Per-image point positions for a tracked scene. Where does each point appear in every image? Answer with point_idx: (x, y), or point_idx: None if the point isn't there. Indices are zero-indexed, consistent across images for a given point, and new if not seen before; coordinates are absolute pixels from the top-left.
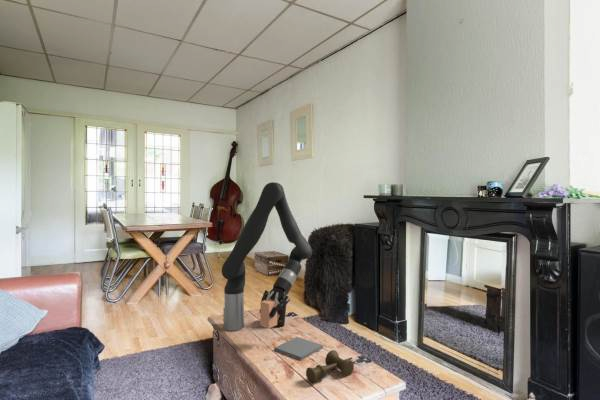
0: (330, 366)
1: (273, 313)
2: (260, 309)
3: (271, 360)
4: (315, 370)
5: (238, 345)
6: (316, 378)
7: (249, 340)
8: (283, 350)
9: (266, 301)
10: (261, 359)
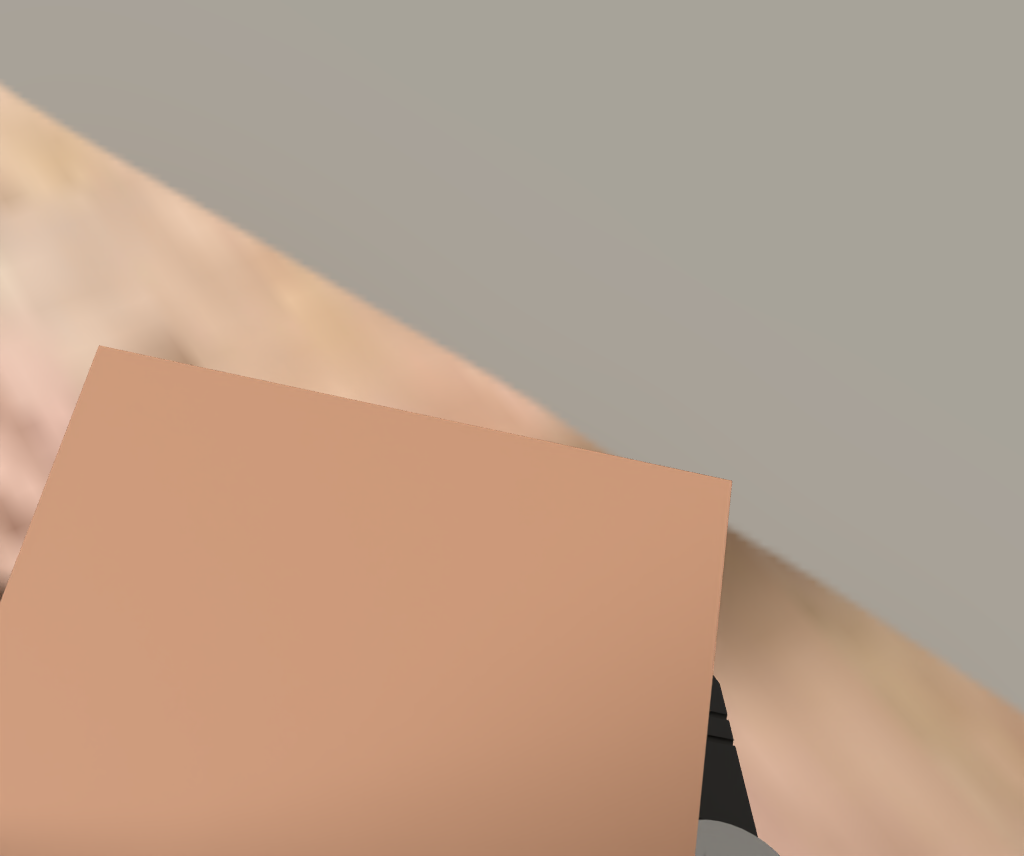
0: None
1: None
2: (711, 698)
3: (73, 368)
4: None
5: (788, 563)
6: None
7: (780, 802)
8: None
9: (483, 677)
10: (223, 341)
